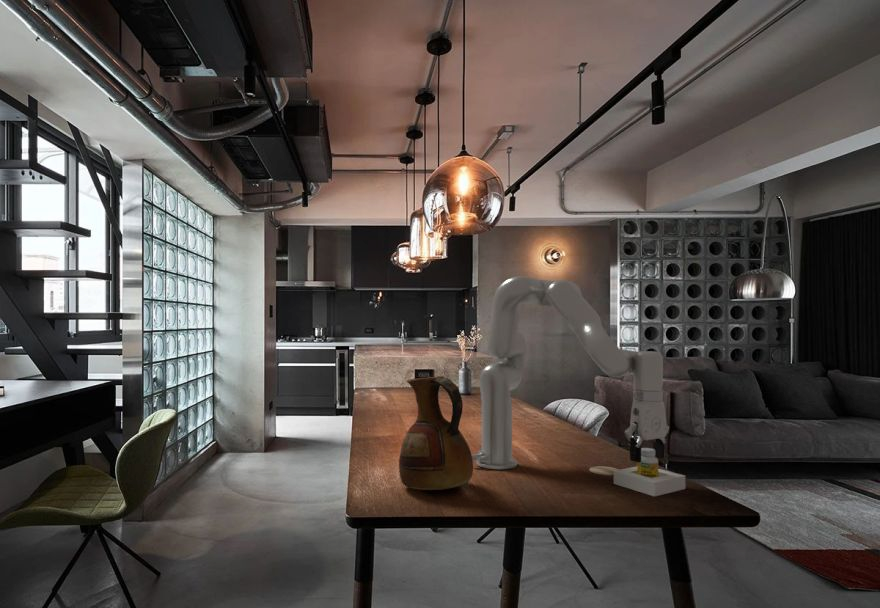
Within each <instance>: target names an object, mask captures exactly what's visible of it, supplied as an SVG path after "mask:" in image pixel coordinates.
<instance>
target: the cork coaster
mask: <svg viewBox="0 0 880 608" xmlns="http://www.w3.org/2000/svg"><path fill="white" fill-rule="evenodd" d="M616 470H620V469H618V468H616V467H610V466H604V465H603V466H601V465H599V466H598V465H597V466H592V467H590V468H589V472H591V473H594V474H597V475H603V476H614V471H616Z"/></svg>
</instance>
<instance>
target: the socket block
mask: <svg viewBox="0 0 880 608" xmlns="http://www.w3.org/2000/svg"><path fill="white" fill-rule="evenodd" d="M613 484H614V485H617V486H620V487H623V488H625V489H630V490H633V491H636V492H640V493H642V494H645V495H648V496H650V497H651V496H652V497H658V496H662V495H666V494H670V493H675V492H678V491H682V490H686V475H684V474H680V473H676V472H674V471H669V470H666V469H661V468H658V477H655V478H649V477H646V476H642V475H639V474H637V465H636V466H631V467H627V468H621V469H619V470H616V471H614V475H613Z"/></svg>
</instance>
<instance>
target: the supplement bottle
mask: <svg viewBox="0 0 880 608" xmlns="http://www.w3.org/2000/svg"><path fill="white" fill-rule="evenodd" d="M654 456H655V450H654V449H653V448H652V447H651V448H650V447H641V462H640V463H638V462H636V464H637V465H636V466H637V474H639V475H642V476H646V477H649V478H655V477H658V469H659V459H658V457H654Z"/></svg>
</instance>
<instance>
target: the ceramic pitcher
mask: <svg viewBox="0 0 880 608" xmlns="http://www.w3.org/2000/svg"><path fill="white" fill-rule="evenodd" d="M406 382H407V383H408V385H409V386H410V387H411V388H412V390H413V392H414V395H415V399H416V400H415V401H416V405H417V416H416V417H417V418H416V420H415V421H414V423H413V424H412V425H411V426H410V427H409V428H408V430H407V431H406V433H405V436H404V438H403V440H402V444H401V448H400V454H399V459H398V470H399V471H398V472H399V478H400V480H401V484H403V486H404V487H407V488H410V489H415V490H421V491H422V490H423V491H443V490H449V489H453V488H457V487H463V486H467V485H468V484H469V482H470V481H471V479H472V477H473V474H474V473H473V472H474V461H473V460H472V452H471V449H470V445H469V444H468V442H467V441H466V438H465V437H464V435H463V434H462V432H461V430H460V429H459V427H460V423H461V418H462V415H463V409H464V408H463V407H464V405H463V398H462V395H461V392H460V390H459V387H458V386H457V384H455V383H454V382H453V381H452V380H451V379H449V378H447V377H445V376H443V375H442V376H440V375H437V376H434V377H433V376H429V377H419V378H410V379H408V380H406ZM440 388H443V389H444V390H445V391H446V393H447V394H448V396H449V398H450V401H451V403H452V405H451V406H452V407H451V408H452V414H451V420H450V421H449V420H447V419H445V417H444V415H443V414H442V411H441V407H440V401H439V391H440Z"/></svg>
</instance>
